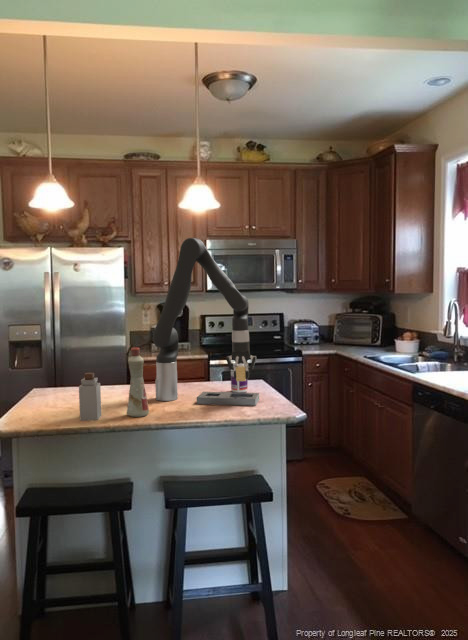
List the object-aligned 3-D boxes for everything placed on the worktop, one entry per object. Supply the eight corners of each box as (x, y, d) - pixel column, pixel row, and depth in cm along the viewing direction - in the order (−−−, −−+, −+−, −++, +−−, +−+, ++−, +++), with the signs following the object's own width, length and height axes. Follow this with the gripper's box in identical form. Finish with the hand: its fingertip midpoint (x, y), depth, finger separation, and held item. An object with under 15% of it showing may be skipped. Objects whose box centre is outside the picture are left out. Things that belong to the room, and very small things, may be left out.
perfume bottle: (101, 415, 207) (99, 371, 206) (97, 420, 200) (95, 374, 199) (84, 416, 207) (82, 372, 206) (80, 420, 200) (78, 375, 199)
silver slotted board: (196, 404, 224) (196, 397, 224) (203, 398, 236) (203, 391, 236) (255, 405, 219) (255, 398, 219) (259, 399, 231) (259, 392, 231)
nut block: (236, 381, 224) (235, 367, 224) (238, 379, 228) (237, 366, 228) (245, 381, 223) (245, 367, 223) (246, 379, 227) (246, 366, 227)
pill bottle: (248, 389, 253) (247, 360, 252) (247, 393, 245) (246, 363, 244) (232, 389, 254) (231, 360, 252) (230, 393, 246) (229, 363, 245)
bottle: (124, 413, 209) (122, 345, 207) (146, 411, 213) (144, 344, 211) (129, 418, 201) (126, 348, 199) (151, 416, 205) (149, 346, 203)
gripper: (223, 341, 222) (224, 380, 223) (255, 341, 220) (256, 381, 221) (226, 339, 230) (227, 377, 231) (257, 339, 227) (258, 377, 228)
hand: (241, 379), depth 226 cm, fingers closed on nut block, 4 cm apart
